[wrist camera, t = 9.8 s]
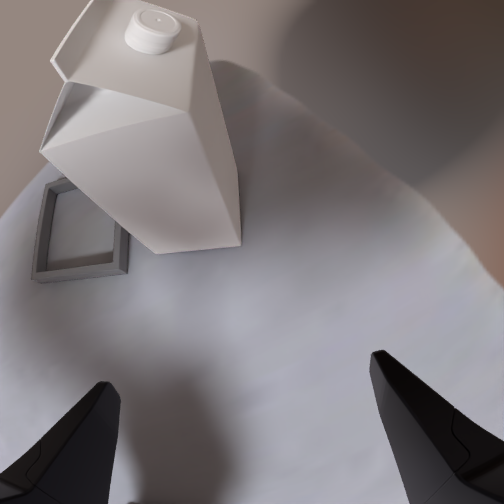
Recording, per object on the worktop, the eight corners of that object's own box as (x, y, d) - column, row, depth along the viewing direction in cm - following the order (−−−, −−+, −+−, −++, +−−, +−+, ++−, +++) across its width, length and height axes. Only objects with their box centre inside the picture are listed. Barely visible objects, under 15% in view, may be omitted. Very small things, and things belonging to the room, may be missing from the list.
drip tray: (127, 273, 25) (119, 268, 23) (40, 283, 25) (31, 279, 24) (133, 169, 28) (127, 161, 27) (53, 190, 29) (45, 184, 27)
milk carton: (155, 255, 25) (-16, 98, 7) (160, 180, 27) (49, 6, 9) (242, 247, 24) (156, 22, 6) (237, 169, 27) (182, -43, 9)
